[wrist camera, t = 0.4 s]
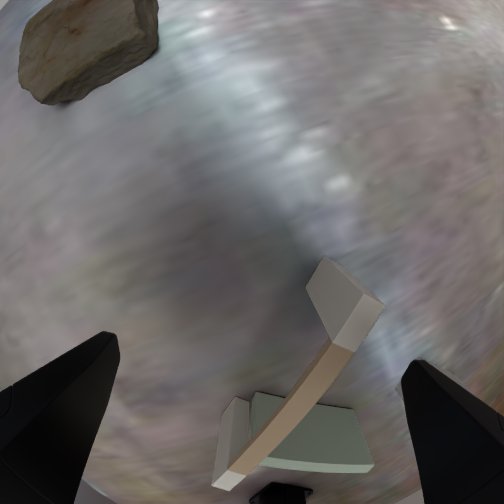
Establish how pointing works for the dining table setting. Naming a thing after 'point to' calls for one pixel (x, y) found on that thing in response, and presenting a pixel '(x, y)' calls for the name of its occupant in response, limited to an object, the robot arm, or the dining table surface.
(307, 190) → the dining table surface
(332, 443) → the door
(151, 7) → the brown stone slab
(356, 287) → the wall frame
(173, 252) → the dining table surface
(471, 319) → the dining table surface
